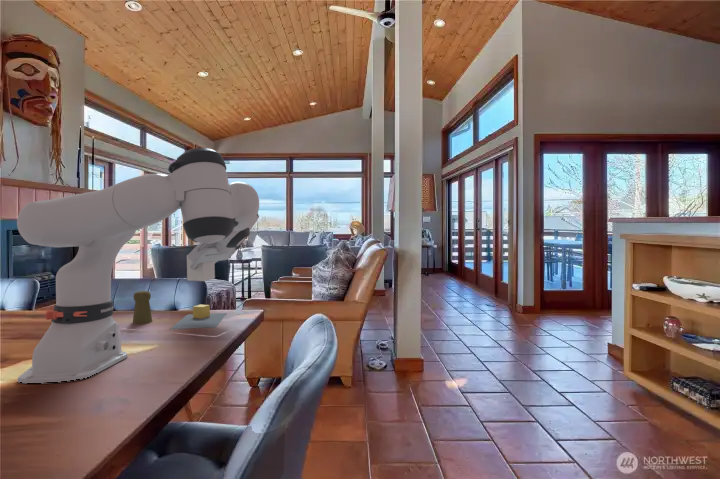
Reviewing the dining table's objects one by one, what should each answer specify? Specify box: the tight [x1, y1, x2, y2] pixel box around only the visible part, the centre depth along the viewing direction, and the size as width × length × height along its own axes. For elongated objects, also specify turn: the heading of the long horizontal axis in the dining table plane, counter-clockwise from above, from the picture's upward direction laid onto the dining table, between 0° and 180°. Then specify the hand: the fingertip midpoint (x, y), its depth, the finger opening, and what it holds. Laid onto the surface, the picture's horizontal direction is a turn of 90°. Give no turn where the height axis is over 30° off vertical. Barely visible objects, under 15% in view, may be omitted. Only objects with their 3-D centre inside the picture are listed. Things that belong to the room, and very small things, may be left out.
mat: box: [169, 312, 228, 330], centre depth 138 cm, size 22×14×1 cm, turn 10°
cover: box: [186, 254, 216, 282], centre depth 143 cm, size 7×7×9 cm
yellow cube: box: [192, 303, 211, 318], centre depth 143 cm, size 4×4×4 cm
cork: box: [132, 290, 153, 325], centre depth 135 cm, size 6×6×11 cm
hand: (199, 267), depth 143 cm, fingers closed on cover, 7 cm apart
